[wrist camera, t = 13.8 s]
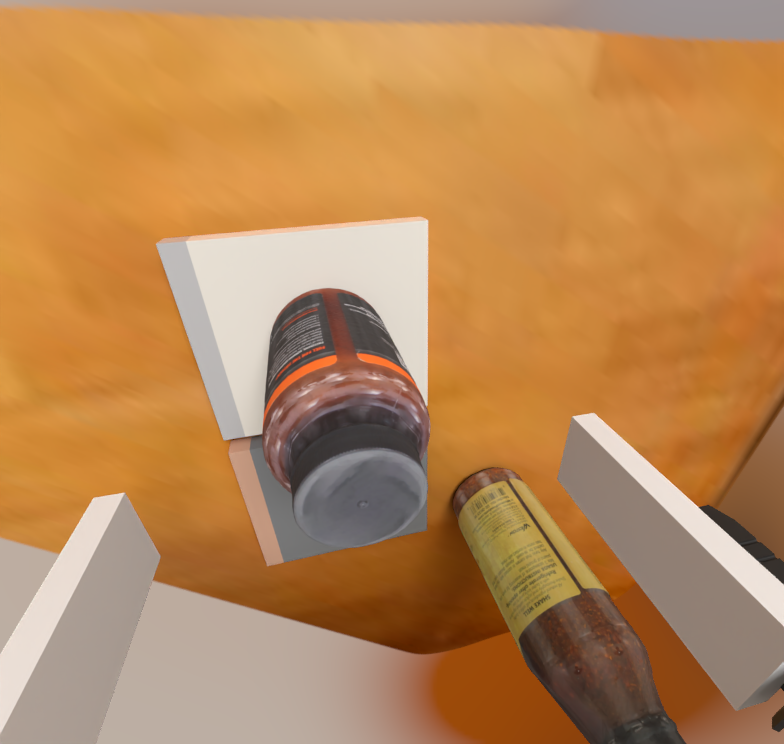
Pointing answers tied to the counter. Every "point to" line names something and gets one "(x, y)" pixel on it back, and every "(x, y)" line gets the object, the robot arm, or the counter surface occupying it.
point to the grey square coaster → (283, 507)
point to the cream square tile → (291, 298)
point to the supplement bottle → (343, 421)
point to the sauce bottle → (561, 614)
